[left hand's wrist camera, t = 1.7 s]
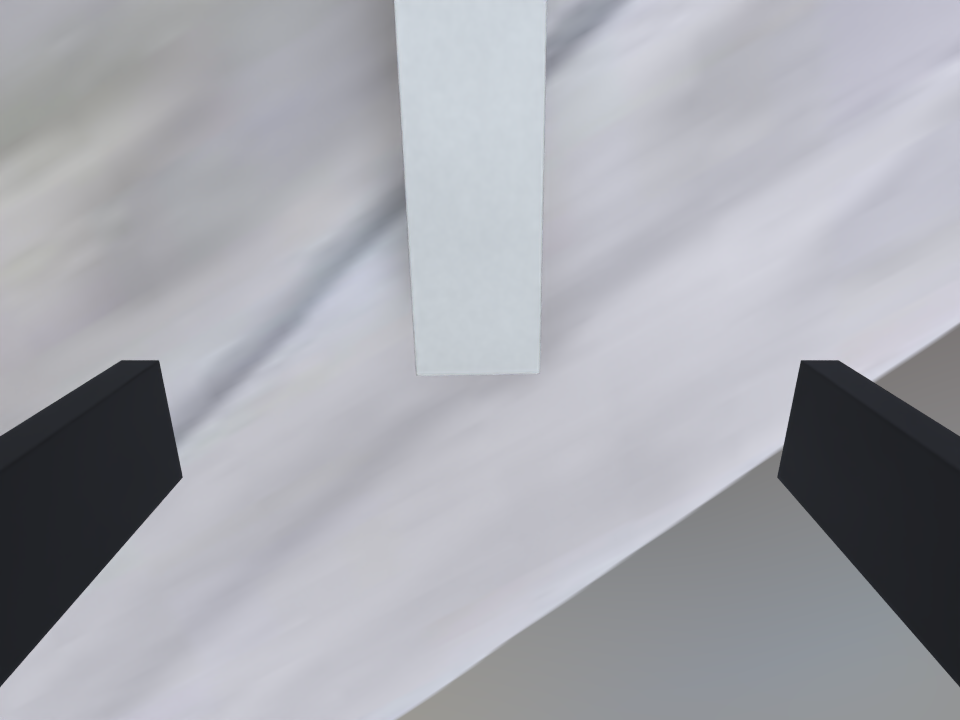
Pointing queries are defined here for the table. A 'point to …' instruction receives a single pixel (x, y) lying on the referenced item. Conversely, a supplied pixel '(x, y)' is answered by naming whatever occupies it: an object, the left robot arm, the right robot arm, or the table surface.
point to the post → (474, 180)
